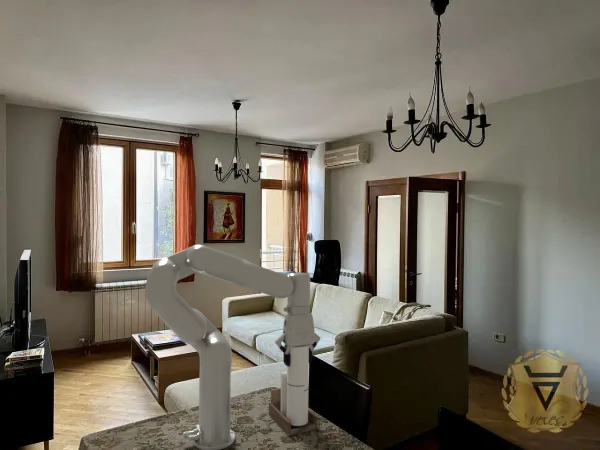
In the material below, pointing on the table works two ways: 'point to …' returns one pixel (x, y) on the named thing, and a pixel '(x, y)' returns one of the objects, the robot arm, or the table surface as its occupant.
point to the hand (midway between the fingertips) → (297, 363)
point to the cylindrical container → (298, 385)
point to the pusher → (284, 393)
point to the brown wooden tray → (284, 422)
